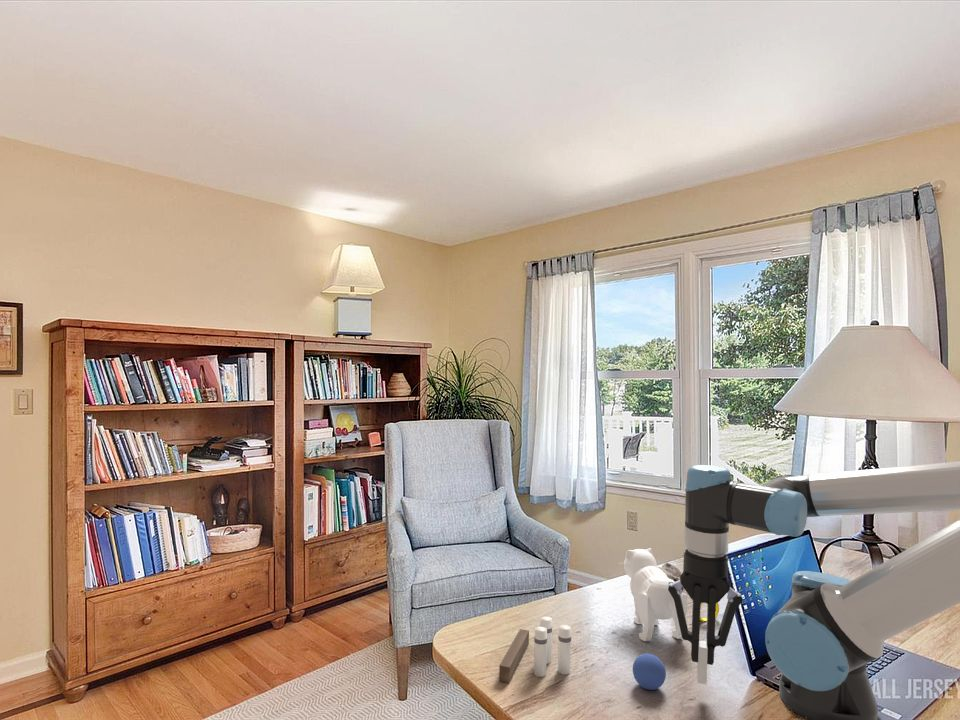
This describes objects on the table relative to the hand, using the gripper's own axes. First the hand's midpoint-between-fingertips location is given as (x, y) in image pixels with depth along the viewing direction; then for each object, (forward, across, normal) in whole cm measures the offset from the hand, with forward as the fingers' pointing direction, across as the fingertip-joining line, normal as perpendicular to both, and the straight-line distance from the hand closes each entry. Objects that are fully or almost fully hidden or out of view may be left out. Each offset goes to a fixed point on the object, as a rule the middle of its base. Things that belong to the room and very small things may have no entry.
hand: (701, 679), depth 104 cm
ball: (0, +9, 0) cm, 9 cm away
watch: (+4, -3, -35) cm, 35 cm away
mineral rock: (+4, +6, -55) cm, 55 cm away
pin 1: (+4, +30, -2) cm, 30 cm away
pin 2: (+4, +30, +3) cm, 30 cm away
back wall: (+4, +35, 0) cm, 35 cm away
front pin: (+3, +25, 0) cm, 25 cm away
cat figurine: (+4, +8, -24) cm, 25 cm away
